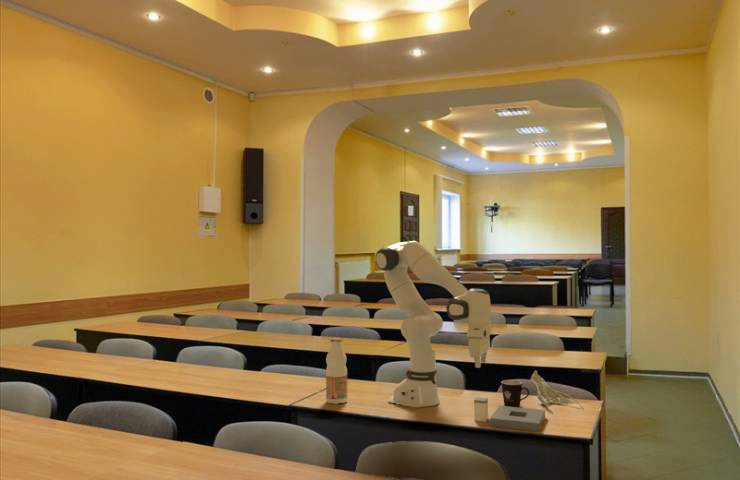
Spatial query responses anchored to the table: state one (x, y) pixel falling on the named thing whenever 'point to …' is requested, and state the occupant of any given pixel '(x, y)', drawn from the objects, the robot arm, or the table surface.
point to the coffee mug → (512, 392)
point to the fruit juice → (336, 373)
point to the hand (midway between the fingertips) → (480, 364)
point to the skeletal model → (549, 392)
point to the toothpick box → (481, 409)
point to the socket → (518, 418)
